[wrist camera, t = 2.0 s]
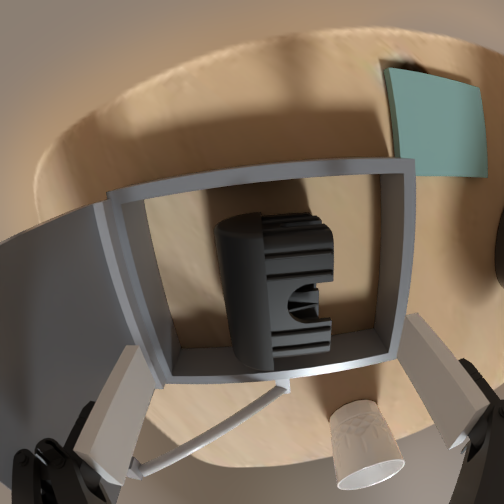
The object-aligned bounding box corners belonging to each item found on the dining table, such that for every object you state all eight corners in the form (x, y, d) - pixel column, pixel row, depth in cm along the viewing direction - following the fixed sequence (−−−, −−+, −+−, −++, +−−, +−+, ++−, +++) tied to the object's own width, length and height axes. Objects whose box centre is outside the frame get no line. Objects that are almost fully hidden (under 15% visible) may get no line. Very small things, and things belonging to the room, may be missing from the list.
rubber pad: (473, 89, 16) (479, 88, 15) (481, 176, 19) (487, 177, 18) (383, 70, 17) (388, 67, 16) (395, 174, 20) (401, 176, 19)
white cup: (377, 422, 31) (396, 477, 21) (323, 435, 31) (335, 494, 22) (385, 389, 28) (413, 451, 19) (324, 404, 29) (340, 473, 19)
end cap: (220, 213, 21) (205, 238, 15) (312, 205, 21) (336, 227, 15) (236, 323, 25) (230, 375, 18) (314, 316, 24) (330, 366, 18)
